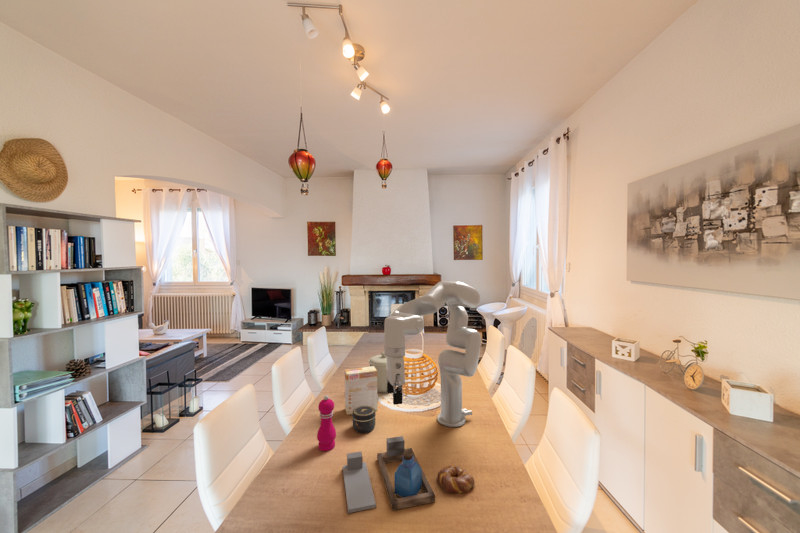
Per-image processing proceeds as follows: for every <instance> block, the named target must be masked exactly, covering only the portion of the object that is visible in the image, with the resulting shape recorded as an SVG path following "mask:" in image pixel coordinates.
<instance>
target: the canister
mask: <svg viewBox="0 0 800 533" xmlns="http://www.w3.org/2000/svg"><path fill="white" fill-rule="evenodd" d="M386 363H387V357H386V356H385V355H384V351H382V352H381V354H376V355H374V356H371V357H370V358H368V364H369V367H371V366H374V367H375V369H376V370H377V393H382V394H383V393H385V394H386V393H387V375H386Z"/></svg>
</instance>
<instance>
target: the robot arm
mask: <svg viewBox="0 0 800 533" xmlns="http://www.w3.org/2000/svg"><path fill="white" fill-rule="evenodd" d="M480 301H481V295H480V293H479V291H478V290H477V289H476V288H474V287H473V286H471V285H469V284H466V283H465V282H462V281H452V280H451V281H449V280H440V281H438V282H437V283H436V284H435V285H434V286H432V287H431V288H430V289H429V290H428V291H427V292H426V293H424V294H423V295H422V296H420V297H416V298H414V299H412V300H409V301H407V302H405V303H402V304H401V305H400V306H398V307H397V308H396V309H395V310H394V311H393V312H391V314H390V316H387V317H386V318H385V319H384V328H383V329H384V332H383V334H384V340H383V342H384V350H383V352H384V355H385V356H386V357H387V363H386V375H387V392H386V393H387V394H392V403H393V405H394V406H395V405H402V404H403V386H405V385H406V373H405V372H406V371H405V370H406V369H405V359H404V357H405V356H406V336H416V335H419V334H420V333H422V331H423V330H424V328H425V321H424V319H423V316H429V315H432V314H436V313H437V312H438V311H439V310H440V309H441V308H442V307H443V306H444V305H445V304H446V305H447V308H448V311H449V319H448V325H447V331H446V335H445V336H446V337H445V341H446V344H447V345H448V346H449V347H452V348H456V349H460V350H461V349H462V350H465V352H462V351H458V350H453V349H444V350H442V351H441V352H440V353H439V354H438V357H437V358H438V359H437V362H438V368H439V376H440V412H439V413H438V414H437V417H436V418H437V422H438V423H439V424H441V425H442V426H444V427H449V428H459V427H461V426H463V425H465V423H466V416H472V415H473V411H472V410H471V409H470V410H468V409H467V408H463V381H462V378H461V376H464V377H467V378H468V377H469V378H471V377H473V376H474V375H475V374H476V372H477V369H478V365H479V358H480V354H481V353H480V352H481V348H482V337H481V333H480V332H479V331H478V330H477V329H474V328H470V327H469V328H468V324H469V315H468V312H467V310H466V308H475V307H478V305H479V303H480ZM421 316H422V317H421Z"/></svg>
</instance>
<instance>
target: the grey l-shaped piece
mask: <svg viewBox="0 0 800 533" xmlns="http://www.w3.org/2000/svg"><path fill="white" fill-rule="evenodd" d="M362 452H363V451H356V452H350V453H349V452H348V453H346V464H345V465H342V476H343V481H344V490H345V497H346V499H345V500H346V506H347V514H351V513H355V512H360V511H365V510H371V509H375V508H377V507H376V506H377V505H376V504H377V502H376V499H375V496H374V491H373V487H372V482H371V478H370V474H369V470H368V465H367V462H366V461H363V460H364V459H363V457H364V456H363V453H362Z"/></svg>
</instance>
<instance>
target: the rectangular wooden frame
mask: <svg viewBox="0 0 800 533" xmlns="http://www.w3.org/2000/svg"><path fill="white" fill-rule="evenodd" d="M406 450H410V451H412V452H413V459H414V460H413V461H414V462H417V464H418V465H419V467H420V468H421V474H422V488H423V489H424V490H423V491H424V493H418V494H417V495H413V496H408V497H398V498H397V496H396V494H395V493H394V487H393V484H392V481H391V478H390V475H389V473H388V469H387V466H386V464H387V463H392V462H398V461H399V462H400V461H403V452H404V451H406ZM376 459H377V463H378V466H379V470H380V472H381V476H382V480H383V483H384V486H385V489H386V493H387V496H388V499H389V502H390V507H391V509H392V511H397V510H402V509H406V508H411V507H416V506H421V505H426V504H430V503H434V502H436V494H435V491H434V490H433V488H432V486H431V484H430V482H429V479H428V478H427V477H426V476H427V475H426V474H425V472H424V470H423V468H422V465H421V464H420V462H419V460H418V458H417V456H416V454H415V452H414V450H413V448H412V447H408V448H405V438H404V437H403V435H399V436H394V437H393V436H392V437H387V438H386V451H385V452H378V453H377V454H376Z"/></svg>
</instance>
